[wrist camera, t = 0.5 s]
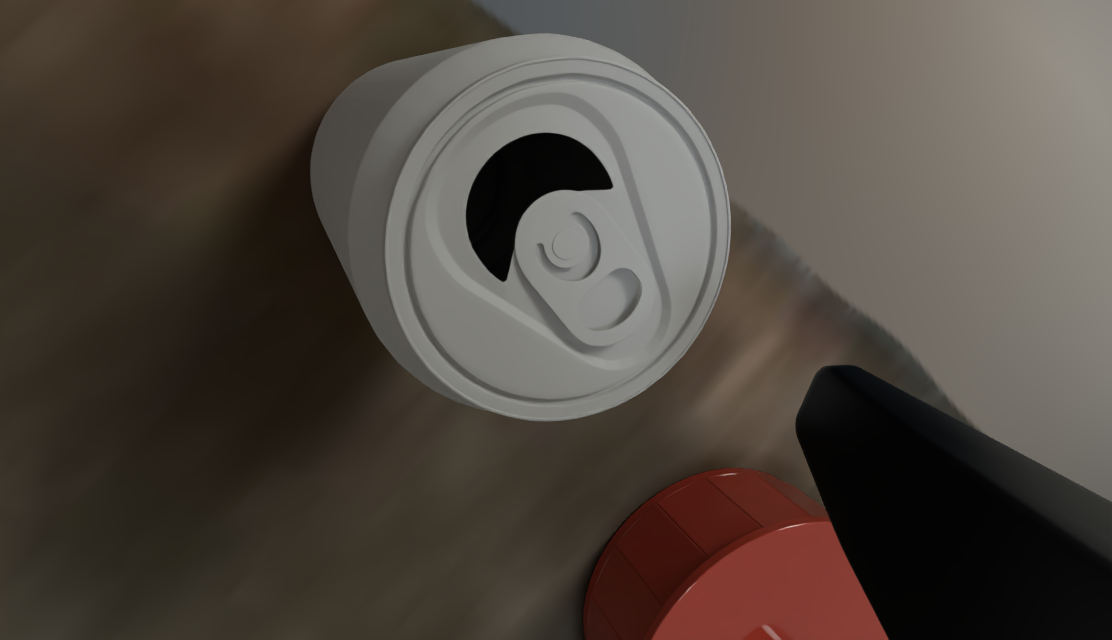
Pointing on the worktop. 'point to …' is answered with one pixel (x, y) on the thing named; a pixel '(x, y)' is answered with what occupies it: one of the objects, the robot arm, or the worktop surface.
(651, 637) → the pot lid
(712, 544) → the pot
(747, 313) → the worktop surface
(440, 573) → the worktop surface
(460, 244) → the beverage can
